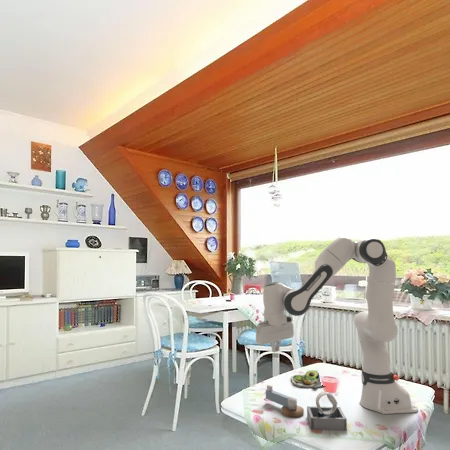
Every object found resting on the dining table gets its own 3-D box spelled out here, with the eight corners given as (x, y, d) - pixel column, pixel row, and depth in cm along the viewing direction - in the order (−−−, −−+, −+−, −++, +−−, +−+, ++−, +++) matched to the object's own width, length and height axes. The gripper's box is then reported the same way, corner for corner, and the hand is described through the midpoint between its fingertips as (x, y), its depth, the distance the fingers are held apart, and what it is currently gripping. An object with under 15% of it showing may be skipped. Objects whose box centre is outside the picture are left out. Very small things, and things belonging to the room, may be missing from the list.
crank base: (302, 408, 162) (302, 404, 162) (305, 417, 153) (304, 413, 153) (280, 408, 163) (280, 404, 163) (282, 417, 154) (282, 413, 154)
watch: (340, 424, 145) (339, 394, 146) (320, 426, 143) (319, 396, 144) (333, 418, 150) (332, 389, 151) (314, 419, 149) (313, 390, 150)
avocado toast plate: (332, 391, 183) (331, 381, 183) (294, 390, 184) (294, 380, 184) (323, 378, 202) (323, 369, 202) (289, 377, 203) (289, 368, 203)
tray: (340, 417, 153) (340, 407, 153) (346, 430, 142) (346, 419, 142) (307, 416, 154) (306, 406, 154) (311, 429, 143) (310, 418, 143)
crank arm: (298, 408, 158) (298, 394, 158) (292, 410, 155) (292, 396, 156) (270, 397, 170) (270, 383, 171) (264, 399, 168) (264, 385, 168)
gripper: (261, 323, 160) (263, 357, 159) (295, 317, 173) (296, 348, 172) (251, 321, 165) (253, 354, 164) (284, 315, 178) (286, 346, 177)
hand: (275, 351), depth 168 cm, fingers closed
